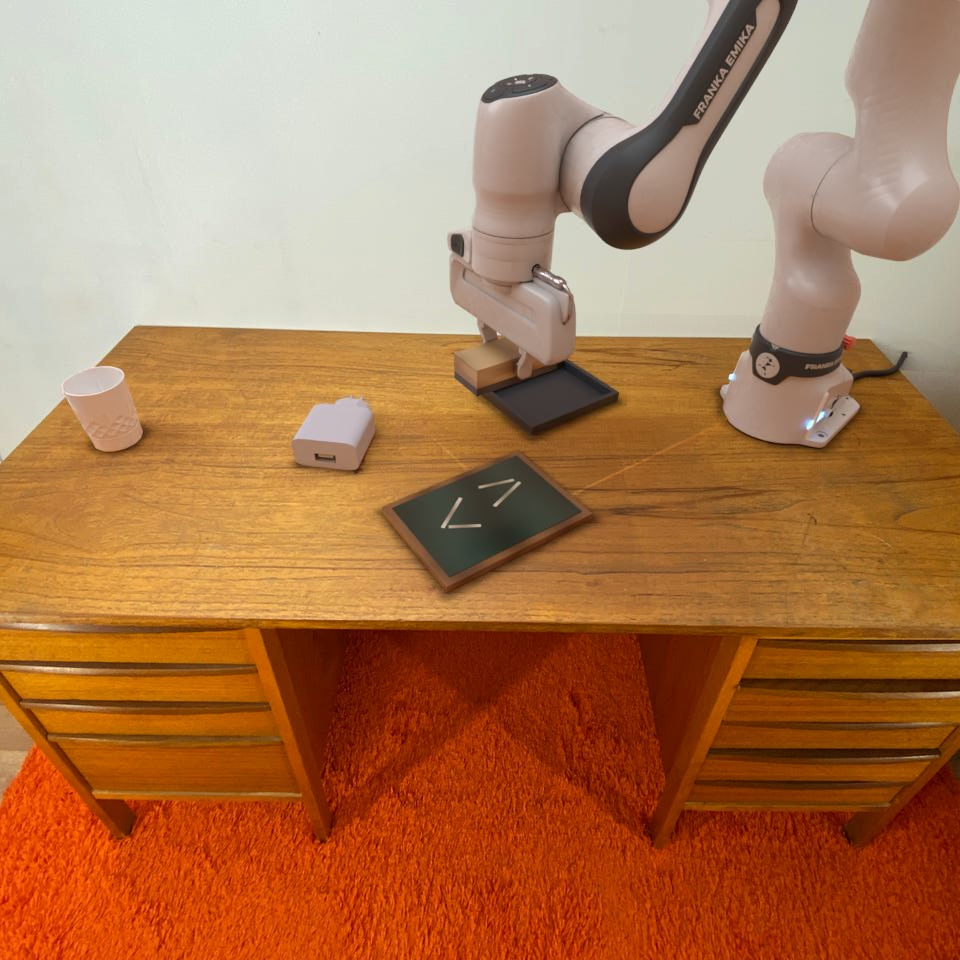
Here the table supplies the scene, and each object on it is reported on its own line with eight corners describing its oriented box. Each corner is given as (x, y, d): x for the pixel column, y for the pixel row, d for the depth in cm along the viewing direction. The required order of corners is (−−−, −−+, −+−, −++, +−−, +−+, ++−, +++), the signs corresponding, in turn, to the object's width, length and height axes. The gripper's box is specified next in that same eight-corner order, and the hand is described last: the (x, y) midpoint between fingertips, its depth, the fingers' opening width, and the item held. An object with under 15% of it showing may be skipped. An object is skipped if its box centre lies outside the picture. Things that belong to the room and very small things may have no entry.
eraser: (532, 352, 83) (534, 328, 81) (556, 369, 80) (559, 343, 78) (454, 378, 78) (453, 352, 76) (476, 396, 75) (477, 370, 73)
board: (517, 455, 92) (518, 449, 92) (591, 519, 82) (593, 512, 81) (381, 513, 83) (380, 506, 82) (446, 593, 73) (446, 586, 72)
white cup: (159, 431, 96) (136, 373, 90) (116, 460, 91) (89, 401, 84) (120, 418, 99) (96, 361, 92) (76, 446, 93) (47, 387, 87)
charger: (387, 412, 101) (358, 471, 89) (330, 406, 102) (295, 464, 90) (384, 386, 98) (354, 444, 86) (326, 381, 99) (289, 437, 87)
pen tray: (563, 367, 112) (564, 356, 110) (617, 403, 103) (619, 392, 102) (480, 397, 104) (480, 386, 103) (531, 438, 96) (532, 427, 94)
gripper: (598, 278, 64) (581, 395, 73) (483, 220, 77) (481, 326, 86) (548, 291, 61) (538, 411, 70) (439, 229, 74) (441, 337, 83)
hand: (506, 364), depth 78 cm, fingers closed on eraser, 5 cm apart
